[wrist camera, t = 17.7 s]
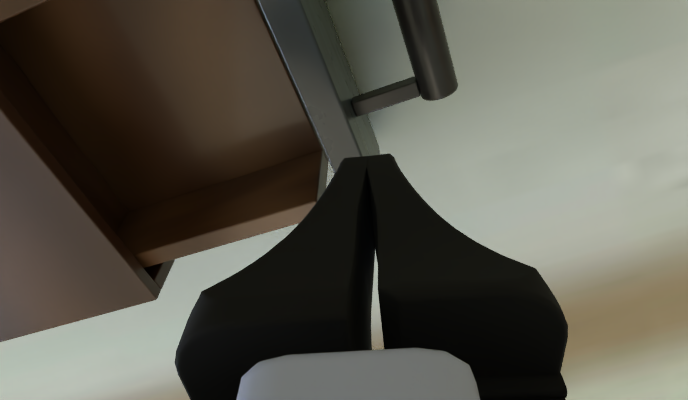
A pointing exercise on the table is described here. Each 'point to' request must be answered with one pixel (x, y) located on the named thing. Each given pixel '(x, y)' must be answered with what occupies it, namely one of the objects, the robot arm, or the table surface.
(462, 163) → the table surface
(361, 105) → the drawer
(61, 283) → the cabinet
